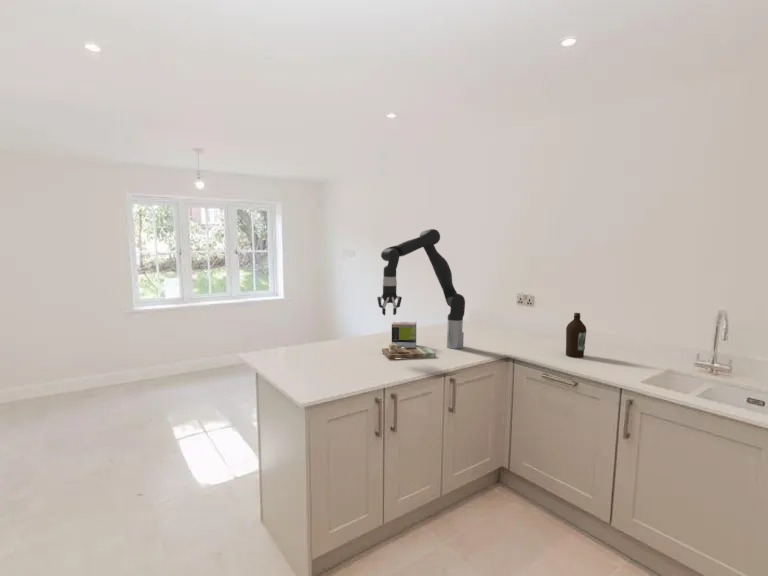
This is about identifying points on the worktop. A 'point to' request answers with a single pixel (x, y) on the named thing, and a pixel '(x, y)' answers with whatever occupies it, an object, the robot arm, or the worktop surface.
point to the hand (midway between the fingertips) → (389, 314)
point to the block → (393, 347)
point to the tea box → (404, 334)
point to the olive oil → (575, 337)
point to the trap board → (409, 352)
